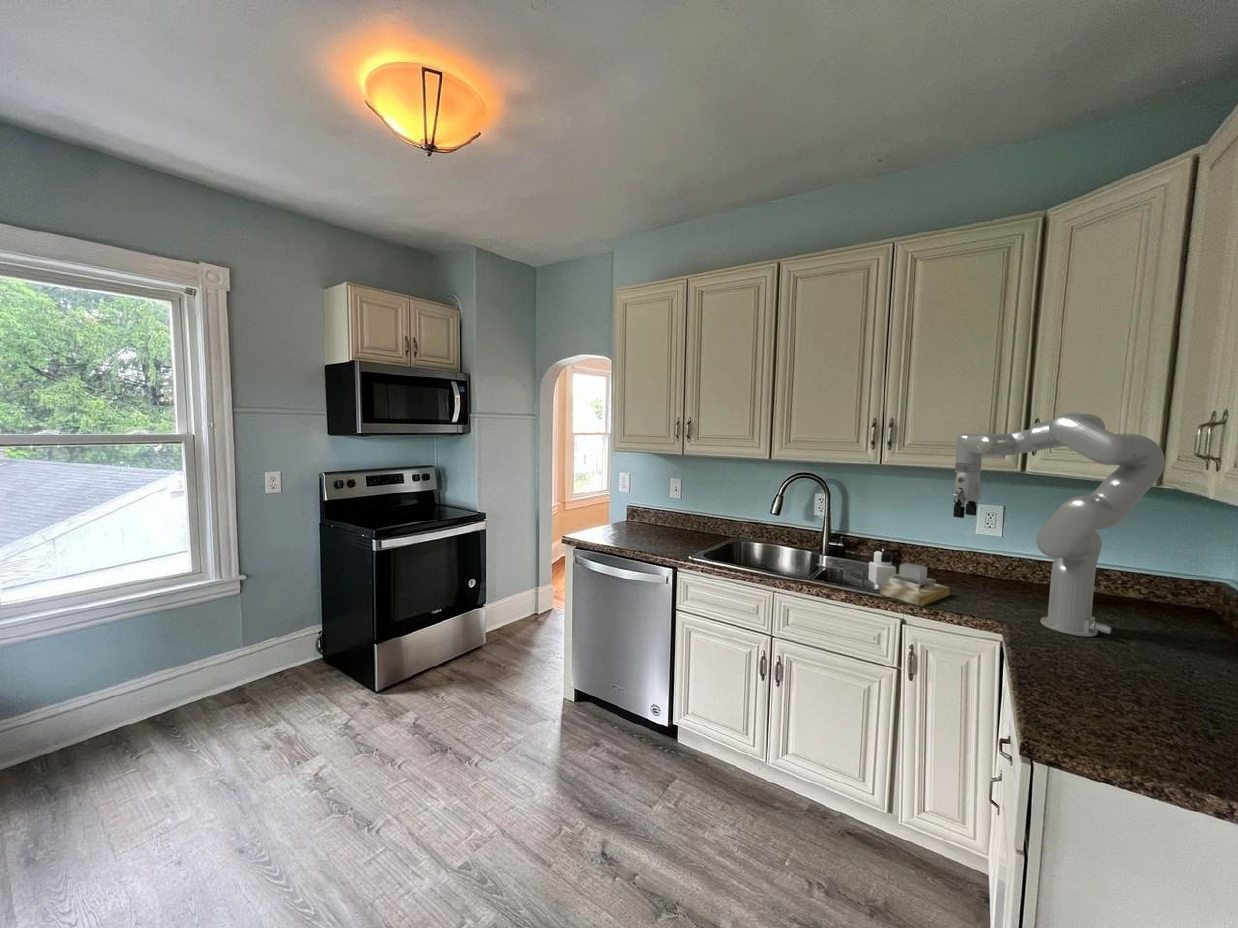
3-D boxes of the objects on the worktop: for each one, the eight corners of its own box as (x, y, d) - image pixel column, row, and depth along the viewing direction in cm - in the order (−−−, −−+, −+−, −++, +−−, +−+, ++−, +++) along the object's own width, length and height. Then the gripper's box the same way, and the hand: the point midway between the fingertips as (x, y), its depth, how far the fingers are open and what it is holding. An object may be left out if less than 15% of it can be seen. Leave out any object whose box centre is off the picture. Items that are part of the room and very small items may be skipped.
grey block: (925, 587, 176) (927, 567, 175) (919, 589, 173) (920, 569, 172) (905, 581, 182) (906, 562, 181) (898, 584, 179) (899, 564, 178)
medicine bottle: (886, 580, 194) (888, 550, 193) (895, 585, 187) (897, 554, 186) (868, 579, 194) (869, 549, 193) (875, 584, 187) (877, 553, 186)
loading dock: (949, 595, 176) (950, 580, 176) (922, 605, 165) (923, 589, 165) (908, 584, 188) (908, 570, 188) (880, 593, 177) (880, 578, 176)
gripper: (969, 470, 168) (966, 520, 169) (990, 468, 177) (987, 515, 179) (945, 468, 174) (942, 516, 175) (966, 467, 184) (963, 512, 185)
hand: (964, 516), depth 177 cm, fingers open, 9 cm apart
